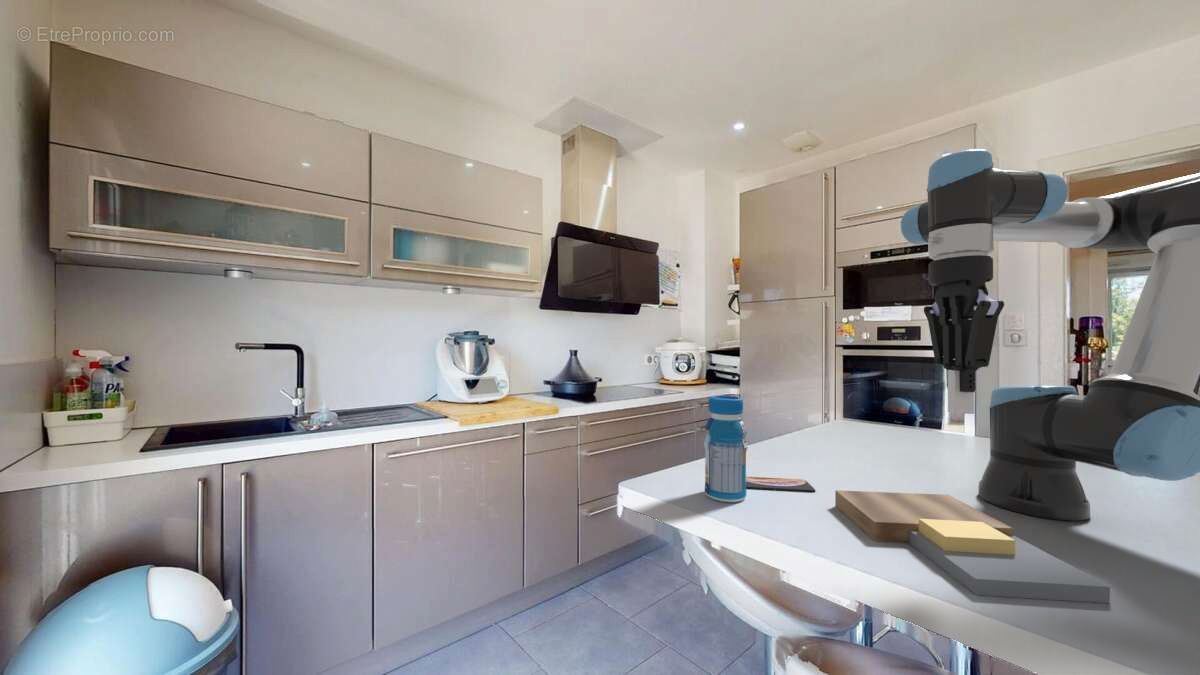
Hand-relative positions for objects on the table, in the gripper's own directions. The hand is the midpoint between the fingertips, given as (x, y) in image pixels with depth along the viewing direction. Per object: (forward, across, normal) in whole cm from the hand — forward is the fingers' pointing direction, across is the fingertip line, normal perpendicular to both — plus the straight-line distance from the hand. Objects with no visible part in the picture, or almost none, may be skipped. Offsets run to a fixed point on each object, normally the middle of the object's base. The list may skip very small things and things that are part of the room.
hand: (960, 412), depth 65 cm
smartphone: (+21, -27, -19) cm, 39 cm away
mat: (+21, +6, 0) cm, 22 cm away
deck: (+21, -8, -2) cm, 22 cm away
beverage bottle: (+21, -19, -32) cm, 42 cm away
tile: (+19, +2, -1) cm, 19 cm away
